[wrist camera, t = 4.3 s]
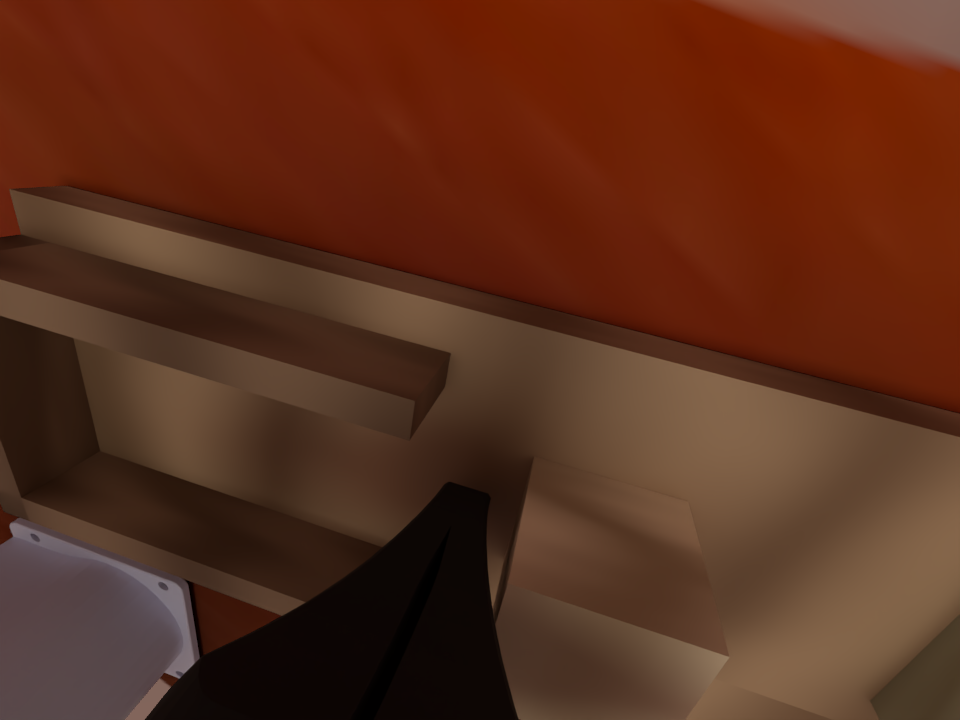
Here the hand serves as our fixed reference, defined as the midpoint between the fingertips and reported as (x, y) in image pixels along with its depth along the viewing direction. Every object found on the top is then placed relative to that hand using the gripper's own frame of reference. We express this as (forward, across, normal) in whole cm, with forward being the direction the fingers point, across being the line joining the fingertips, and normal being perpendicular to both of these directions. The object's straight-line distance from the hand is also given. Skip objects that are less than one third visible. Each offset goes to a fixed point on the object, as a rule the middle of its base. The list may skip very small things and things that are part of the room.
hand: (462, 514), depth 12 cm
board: (+2, -1, +2) cm, 3 cm away
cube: (+1, -3, 0) cm, 3 cm away
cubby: (+1, +8, 0) cm, 8 cm away
